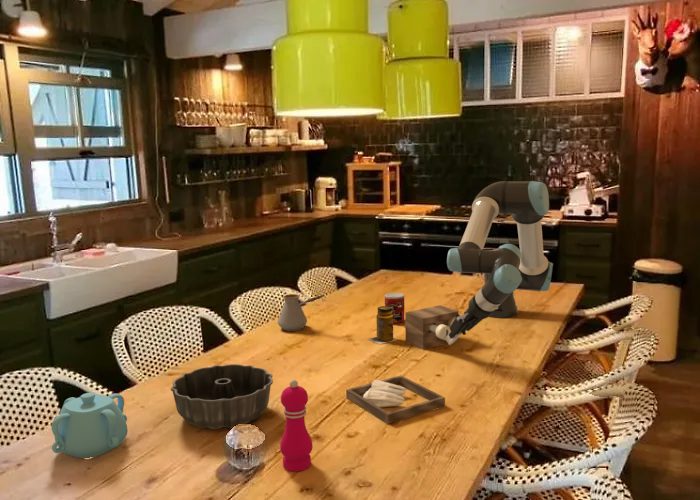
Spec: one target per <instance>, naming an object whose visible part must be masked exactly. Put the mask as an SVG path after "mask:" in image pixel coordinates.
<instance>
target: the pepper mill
mask: <svg viewBox="0 0 700 500" xmlns="http://www.w3.org/2000/svg"><path fill="white" fill-rule="evenodd" d="M308 401H309V395H308V392H307V390H306V389H305V388H304V387H303V386H301V385H299V381H298V380H295V379H291V380H290V382H289V386H287V387H285V388H284V389H283V390H282V392H281V395H280V403H281V405H282V406H283V407H284V408H283V416H284V417H285V426H284V427H285V428H284V431H283V434H282V437H281V439H280V442H279V443H280V445H279V450H280V454H282V455H283V456H282V467H283V468H284V469H285V470H286V469H287V471H289V470H290V471H289V472H294V471H296V472H301V471H302V470H303V471H305V470H307V469H309V468H310V467H311V465H312V456H311V455H310V454H311V452H312V450H313V447H314V445H313V440H312V437H311V434H310V433H309V432H308V429H307V427H306V422H305V421H306V420H305V418H306V417H305V416H306V415H307V407H306V406H307V404H308ZM309 466H310V467H309ZM308 467H309V468H308Z"/></svg>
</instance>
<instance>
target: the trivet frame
mask: <svg viewBox="0 0 700 500" xmlns="http://www.w3.org/2000/svg"><path fill="white" fill-rule="evenodd" d="M380 381H383V382H387V383H391V384H394V385H398V386H402V387H404V388H406V390H409V391H411V392H413V393H414V394H416V395H419V397H422V398H423V399H426V401H422V402H419V403H416V404H413V405H409V406H406V407H403V408H399V409H396V410H393V411H387V410H385V409H383V407H378V406H377V405H375V404H373V403H372V402H370V401H368V400H367V399H365V398H363V396H364V394H365V393H366V392H367V391H368V390H369V389H370V388H371V385H372V382H369V383H367V384H363V385H359V386H356V387H352V388H351V387H350V388H348V389H346V393H345V394H346V395H345V396H346V397H345V398H346V399H347V400H348V401H350V402H351V403H353V404H355V405H357V406H358V407H359V408H361V409H363V410H364V411H366V412H368V413H370V414H371V415H372V416H374V417H375V418H377V419H378V420H381V421H382V422H383V423H385V424H387V425H389V424H392V423H396V422H399V421H403V420H405V419H409V418H413V417H415V416H418V415H421V414H425V413H428V412H432V411H435V410H437V408H438V409H441V408H444V407H446V397H444V396H443V395H441V394H439V393H436V392H434V391H433V390H430V389H429V388H427V387H425V386H422V385H421V384H419V383H417V382H415V381H413V380H411V379H408V378H407V377H405V376H402V375H401V374H400V375H397V376H393V377H390V378H385V379H382V380H380ZM434 409H435V410H434Z"/></svg>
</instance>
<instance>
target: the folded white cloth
mask: <svg viewBox="0 0 700 500" xmlns="http://www.w3.org/2000/svg"><path fill="white" fill-rule="evenodd" d="M371 383H372V385H371V388H370V389H369V390H368V391H367V392H366V393H365V394H364V395H362V397H363V398H365V399H367V400H368V401H370V402H372V403H373V404H375V405H377V406H378V407H380V408H386V407H387V408H388V407H397V406H400V405H403V404H404V401H405V397H404V395H405V394H406V391H407V388H405V387H403V386H401V385H399V386H398V385H394V384H391V383H387V382H383V381H381V380H379V379H374V378H373V380H372V381H371ZM402 395H403V396H402Z"/></svg>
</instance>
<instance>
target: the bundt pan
mask: <svg viewBox="0 0 700 500" xmlns="http://www.w3.org/2000/svg"><path fill="white" fill-rule="evenodd" d="M273 381H274V379H273V373H270V372H268V370H267V369H265V368H262V367H257V366H254V365H251V364H250V365H243V364H239V363H238V364H234V363H233V364H231V363H230V364H224V365H221V364H219V365H218V364H215V365H213V366H206V367H200V368H197V369H194V370H192V371H190V372H186V373H183V374H182V375H181V376H180V377H178V378H175V379H174V380H173V381H172V386H171V387H170V391H171V392H172V394H173V397H174V402H175V406H176V410H177V413H178V414H179V416H180V417H181V418H182V419H183V420H184V421H185V422H186V423H187V424H190V425H192V426H196V427H197V428H198V429H203V430H204V429H207V428H209V429H210V430H211V429H212V430H219V429H223V428H224V427H225V428H227V429H229V430H231V429H232V428H233V427H234V426H239V425H238V424H245V425H246V423H247V424H249V422H253V421H257V420H258V419H259V418H260V417H261V415H262V414H263V413H264V412H265V410H267V407H268V406H269V401H270V394H271V387H272V384H273Z"/></svg>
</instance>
